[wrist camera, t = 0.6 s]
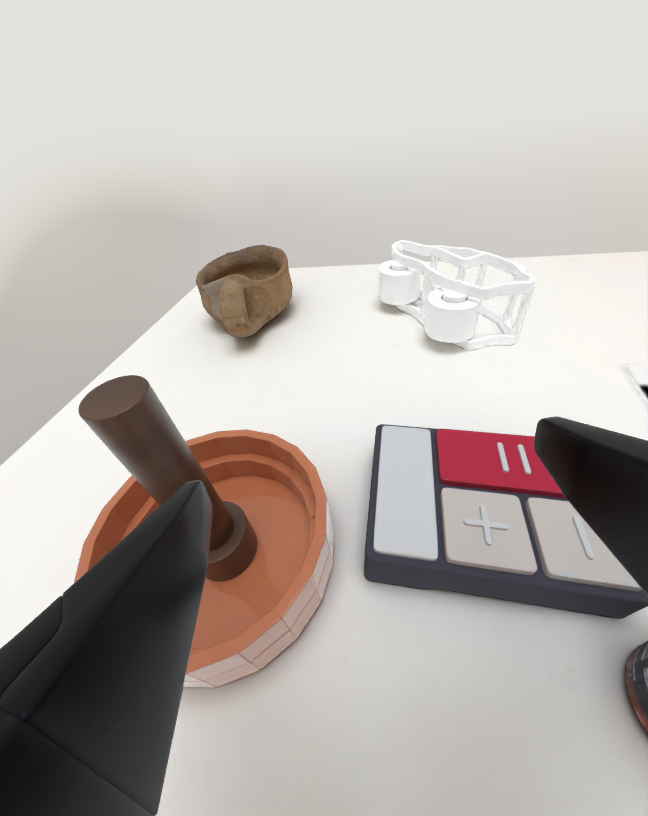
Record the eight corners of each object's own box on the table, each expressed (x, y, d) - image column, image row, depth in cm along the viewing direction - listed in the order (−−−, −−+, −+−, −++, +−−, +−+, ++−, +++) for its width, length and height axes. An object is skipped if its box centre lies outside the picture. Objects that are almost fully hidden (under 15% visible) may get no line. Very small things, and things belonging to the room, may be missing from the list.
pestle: (251, 581, 22) (141, 431, 12) (189, 582, 23) (30, 439, 12) (261, 519, 25) (181, 359, 15) (206, 522, 26) (92, 367, 16)
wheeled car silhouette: (366, 300, 51) (365, 250, 46) (428, 280, 53) (433, 231, 48) (452, 368, 37) (463, 306, 32) (530, 338, 39) (553, 276, 34)
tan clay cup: (323, 326, 44) (289, 255, 37) (231, 375, 45) (181, 316, 38) (295, 276, 56) (266, 217, 49) (224, 316, 57) (185, 263, 50)
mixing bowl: (335, 689, 18) (324, 674, 15) (75, 688, 20) (11, 673, 16) (333, 462, 29) (327, 423, 26) (168, 471, 31) (141, 436, 27)
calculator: (670, 600, 16) (364, 553, 19) (621, 623, 19) (363, 580, 22) (586, 433, 24) (376, 416, 27) (560, 468, 27) (374, 450, 30)
